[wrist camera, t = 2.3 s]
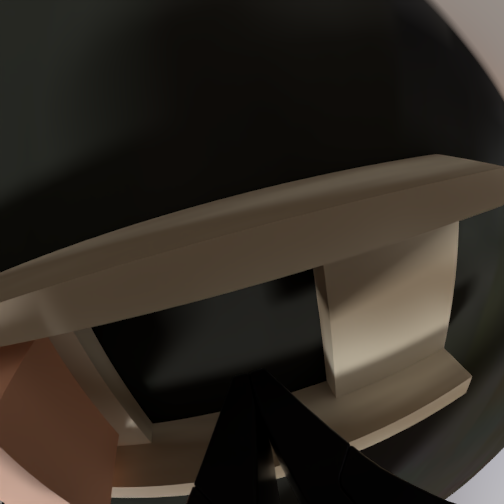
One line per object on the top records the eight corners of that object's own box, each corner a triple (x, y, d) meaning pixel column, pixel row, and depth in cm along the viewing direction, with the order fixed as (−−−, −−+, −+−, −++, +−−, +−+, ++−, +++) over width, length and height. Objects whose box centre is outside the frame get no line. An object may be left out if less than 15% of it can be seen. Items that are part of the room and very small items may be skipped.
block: (119, 434, 9) (109, 527, 5) (29, 436, 8) (8, 506, 5) (42, 327, 7) (-16, 431, 3) (-40, 346, 6) (-88, 415, 3)
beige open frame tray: (427, 352, 11) (465, 392, 9) (-38, 432, 9) (-51, 462, 6) (436, 153, 8) (506, 167, 5) (-111, 324, 6) (-134, 350, 3)
